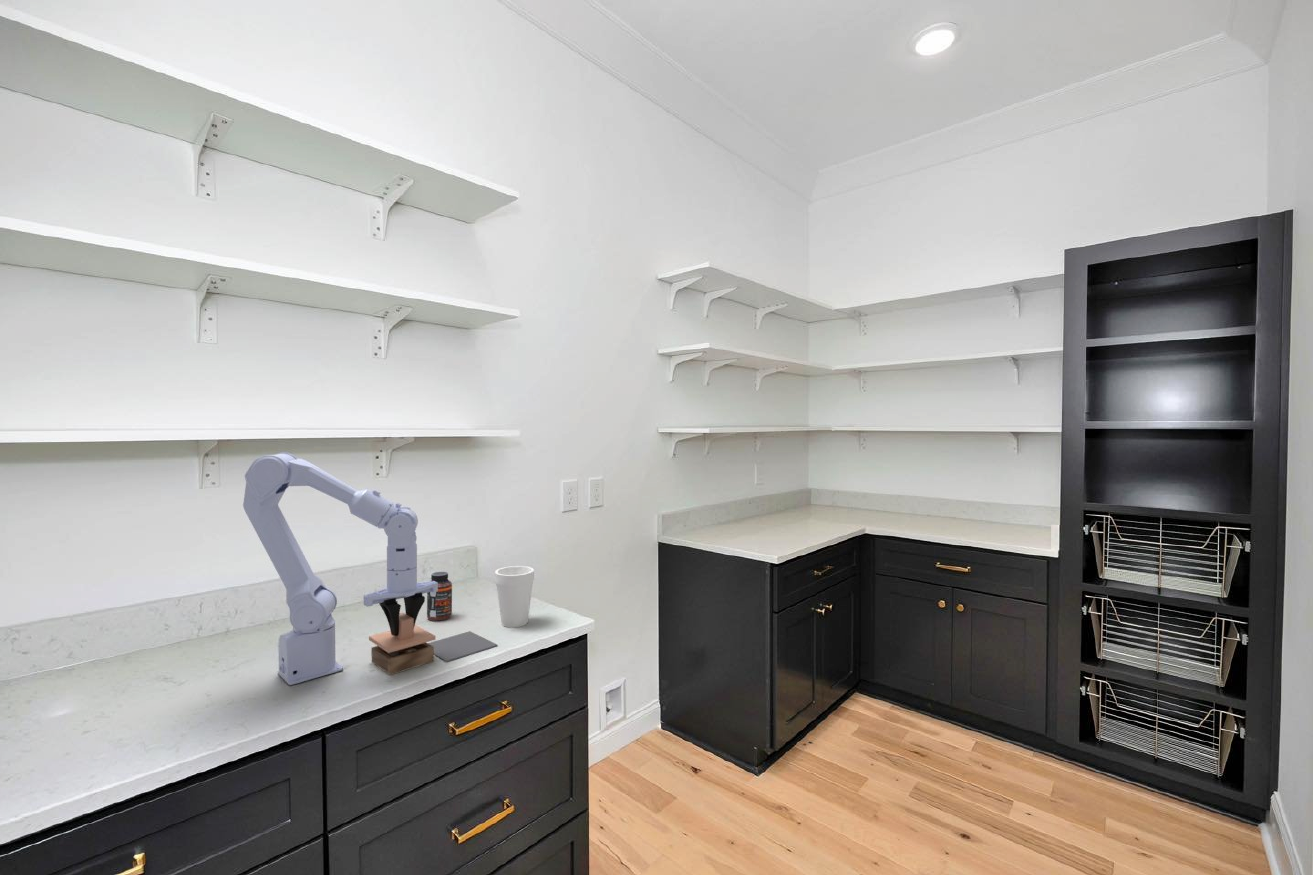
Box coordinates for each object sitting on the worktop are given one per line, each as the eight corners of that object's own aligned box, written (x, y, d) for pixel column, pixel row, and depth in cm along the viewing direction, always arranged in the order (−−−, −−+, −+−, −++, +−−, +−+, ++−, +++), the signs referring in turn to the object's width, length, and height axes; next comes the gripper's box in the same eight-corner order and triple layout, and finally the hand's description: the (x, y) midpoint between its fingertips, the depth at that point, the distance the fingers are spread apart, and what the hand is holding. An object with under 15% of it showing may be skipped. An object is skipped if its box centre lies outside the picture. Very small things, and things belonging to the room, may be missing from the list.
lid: (388, 655, 113) (388, 628, 113) (369, 642, 120) (368, 616, 119) (435, 642, 120) (435, 616, 120) (414, 630, 127) (414, 606, 126)
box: (389, 674, 114) (389, 659, 113) (371, 661, 120) (371, 647, 120) (433, 661, 120) (433, 646, 120) (414, 649, 126) (414, 635, 126)
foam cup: (488, 622, 144) (488, 570, 143) (521, 613, 150) (521, 564, 149) (506, 632, 137) (506, 577, 136) (541, 623, 143) (540, 571, 142)
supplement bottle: (435, 623, 142) (435, 577, 142) (422, 618, 146) (421, 573, 146) (456, 616, 147) (456, 572, 147) (443, 612, 151) (443, 569, 151)
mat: (446, 662, 120) (446, 660, 120) (420, 646, 128) (420, 645, 128) (497, 645, 128) (497, 644, 128) (469, 632, 136) (469, 631, 136)
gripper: (373, 577, 111) (373, 647, 112) (444, 564, 122) (444, 628, 122) (359, 571, 116) (359, 638, 116) (429, 559, 127) (429, 620, 127)
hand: (402, 632), depth 120 cm, fingers closed on lid, 2 cm apart
